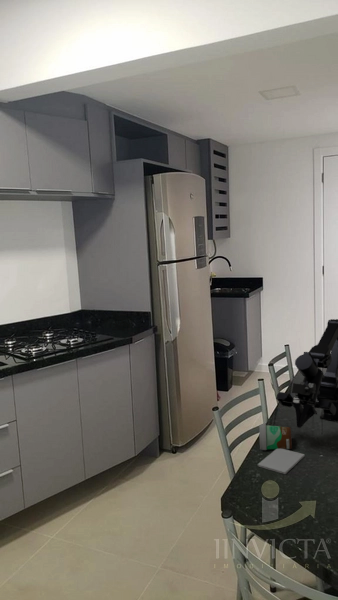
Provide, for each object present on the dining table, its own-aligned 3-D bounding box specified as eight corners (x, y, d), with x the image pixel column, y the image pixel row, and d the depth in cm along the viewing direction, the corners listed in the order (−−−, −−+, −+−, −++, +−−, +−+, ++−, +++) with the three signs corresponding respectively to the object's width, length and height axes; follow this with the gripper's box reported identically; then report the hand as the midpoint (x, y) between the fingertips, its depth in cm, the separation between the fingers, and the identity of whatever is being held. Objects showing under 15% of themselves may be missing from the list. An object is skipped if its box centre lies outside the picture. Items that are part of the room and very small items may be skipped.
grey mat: (278, 449, 151) (277, 447, 151) (304, 456, 145) (304, 454, 145) (257, 466, 141) (257, 464, 141) (285, 474, 135) (285, 472, 135)
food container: (291, 431, 147) (259, 431, 149) (292, 450, 148) (259, 450, 150) (289, 418, 159) (259, 417, 161) (290, 435, 160) (260, 435, 162)
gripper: (277, 369, 159) (262, 411, 152) (331, 376, 147) (318, 422, 140) (288, 384, 166) (275, 425, 159) (341, 392, 154) (329, 437, 147)
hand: (298, 427), depth 151 cm, fingers closed
